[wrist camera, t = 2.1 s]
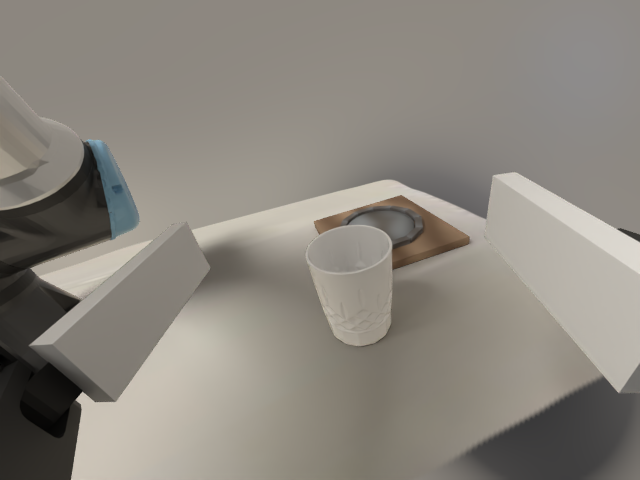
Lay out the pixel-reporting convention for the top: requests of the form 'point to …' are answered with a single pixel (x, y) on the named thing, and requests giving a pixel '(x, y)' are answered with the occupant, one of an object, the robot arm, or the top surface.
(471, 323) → the top surface
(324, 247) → the white cup
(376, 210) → the coaster board
